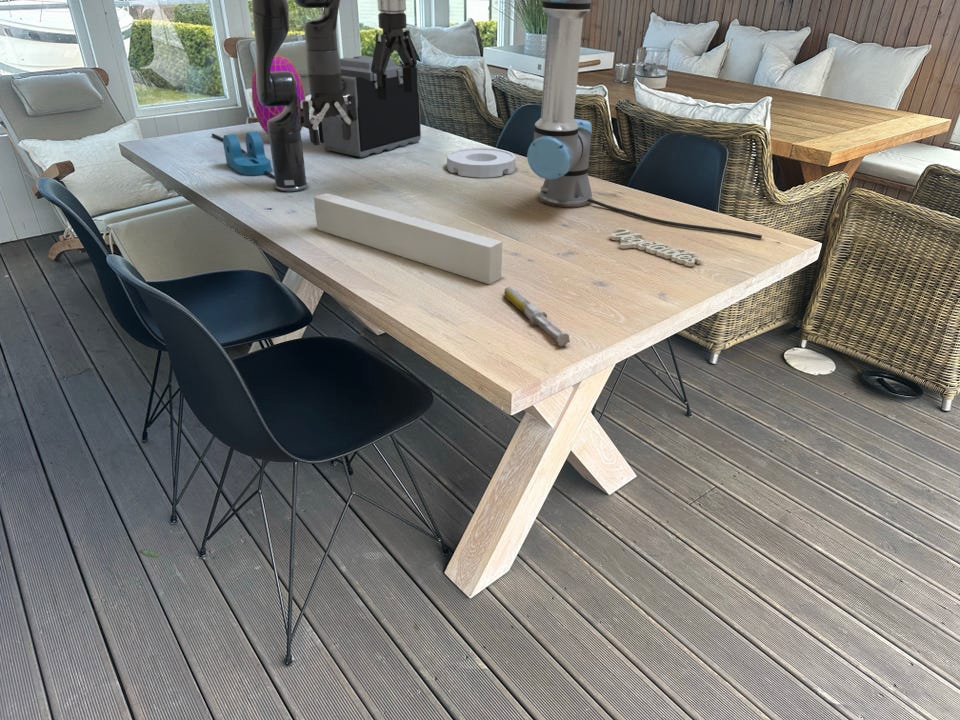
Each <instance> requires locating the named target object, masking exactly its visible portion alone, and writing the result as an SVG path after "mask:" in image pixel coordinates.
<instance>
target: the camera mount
mask: <svg viewBox="0 0 960 720" xmlns="http://www.w3.org/2000/svg"><path fill="white" fill-rule="evenodd" d="M222 138H223V141H222V143H223V149H224V150H223V151H224V156H225V161H226V165H227V166H228V167H230V168H231V169H232V170H234V171H236V172H237V173H238V174H239V175H244V176H260V175H266V174H265V173H264V172H265V170H266V171H268V172H269V173H271V172H272V164H271V159H270V158H268V157H267V156H266V153H265V145H264V141H263V139H262V136H261V134H260V132H258V131H247V132H246V133H245V146H246V152H247V153H242V150H241V149H242V146H241V142H240V140H239V138H238V135H236V134H235V133H231V134H224V135H223V137H222Z"/></svg>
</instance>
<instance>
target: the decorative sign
mask: <svg viewBox="0 0 960 720" xmlns="http://www.w3.org/2000/svg"><path fill="white" fill-rule="evenodd" d="M642 237H643V234H642V233H631V229H628V228H627V229H626V228H619V227H618V228H617V229H616V232H613V233H611V234H610V240H612V241H616V242H618V241H619V249H638V250H640V251H645V252H646V253H648V254H651V255H656V256H657V257H661V258H663V259H666V260H671V262H674V263H675V262H676V263H678V264H679V265H680V264H682V265H684V266H686V267H694V266H695V264H697V265H700V264H701V261H702V259H701V258H700V257H695V252H694V251H685V248H681V247H679V248H671V249H670V247H669V245H667V244H666V243H665V242H664V243H663V242H657V241H653V242H652V241H647V240H644V239H642Z"/></svg>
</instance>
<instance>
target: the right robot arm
mask: <svg viewBox="0 0 960 720" xmlns="http://www.w3.org/2000/svg"><path fill="white" fill-rule="evenodd" d="M406 1H407V0H377V10H378V12H379V13H378V15H377V18H378V28H379V29H381V30H382V33H376V34H375V43H374V44H375V45H374V49H373V54H372V55H373V56H372V57H373V61H372V66H371V72H373V74H376V75H377V86H378V99H383V100H388V89H387V74H384V73H385V70H386V67H387V65H388V62H389V59H391V55H392V54H393V53H394V52H395V51H396V52H397V54H398V56H399V58H400V61H401V63H402V64H403V66H405V67H406V68H403V82H404V92H413V74H412V68H415V67H417V63H418V62H417V58H416V54H415V51H414V46H413V43H412V40H411V33H410V32H411V31H410V30H409V29H406V28H407V27H408V26H407V24H408V23H407V13H405V12H406V10H407V3H406ZM591 5H592V0H542V6H541V7H542V8H541V9H542V10H543V12H544V13H545V14H546V15H547V25H546V26H547V27H546V39H545V40H546V41H545V52H544V53H545V55H544V67H543V69H544V70H543V83H542V96H541V100H542V101H541V109H540V111H541V112H540V118H539V119H538V120H537V121H536V122H535V123H534V131H533V140H532V142H531V143H530V144H529V146H528V149H527V154H526V158H527V159H526V160H527V163H528V166H529V168H530V169H531V171H532V172H533V173H534V174H535V175H536V176H538V177H539V178H541V179H543V180H544V181H543V184H542V186H541V187H540V191H539V200H540V202H542V203H543V204H546V205H549V206H553V207H558V208H559V207H560V208H580V207H584V206H588V205H589V204H594V205H596V206H599V207H603V208H605V209H607V210H612V211H614V212H618V213H621V214H625V215H628V216H632V217H635V218H637V219H642V220H645V221H649V222H654V223H657V224H663V225H668V226H674V227H680V228H688V229H693V230H700V231H701V230H702V231H709V232H715V233H716V232H717V233H724V234H730V235H738V236H743V237H747V238H754V239H759V240H762V238H763V235H762V234H757V233H751V232H746V231H740V230H734V229H728V228H720V227H712V226H705V225H696V224H689V223H682V222H676V221H671V220H665V219H659V218H655V217H651V216H647V215H643V214H640V213H636V212H633V211H630V210H626V209H623V208H619V207H615V206H613V205H609V204H606V203H604V202H601V201H598V200H595V199H593V193H592V188H591V184H590V179H589V165H590V153H591V142H592V134H593V132H592V130H593V129H592V127H593V126H592V123H591V122H590V121H589V120H585V119H579V118H575V109H576V99H577V88H578V77H579V68H580V67H579V66H580V55H581V46H582V34H583V25H584V18H585V16H586V15H587V14H588V13H590V11H591ZM375 67H376V68H375Z"/></svg>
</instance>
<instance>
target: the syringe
mask: <svg viewBox="0 0 960 720" xmlns="http://www.w3.org/2000/svg"><path fill="white" fill-rule="evenodd" d="M504 297H505V298H506V299H507V300H508V301H509V302H510V303H512V305H513V306H515V307H516V308H517V309H518V310H519V311H520V312H521V313H522V314H523V316H525V317H526V318H527V319H528V320H529V323H530V324H531V326H538V327H540V328H541V329H542V330H543V331H544V332H545V333H547V335H549V336H550V337H551V338H552V339H553V340H554V341H555V342H556V343H557V345H558V346H559V347H560V348H561V347H565V346H567V345H568V344H569V343H570V342H571V339H570V334H569V333H567V332H565V333H564V332H563V331H562V330H561V329H560V328H559V327H558V326H556V325H555V324H554V323H552V321H550V320H548V315H547V313H546V312H545V311H541V310H540V309H538V308H537V306H535V305H534V304H533V303H531V301H529V300H528V299H527V298H526V297H524V296H523V295H522V294H521V293H520V292H519V291H518V290H517V289H516V288H515V287H514V286H512V285H511V286H508V287H507V286H506V287H505V288H504Z"/></svg>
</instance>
